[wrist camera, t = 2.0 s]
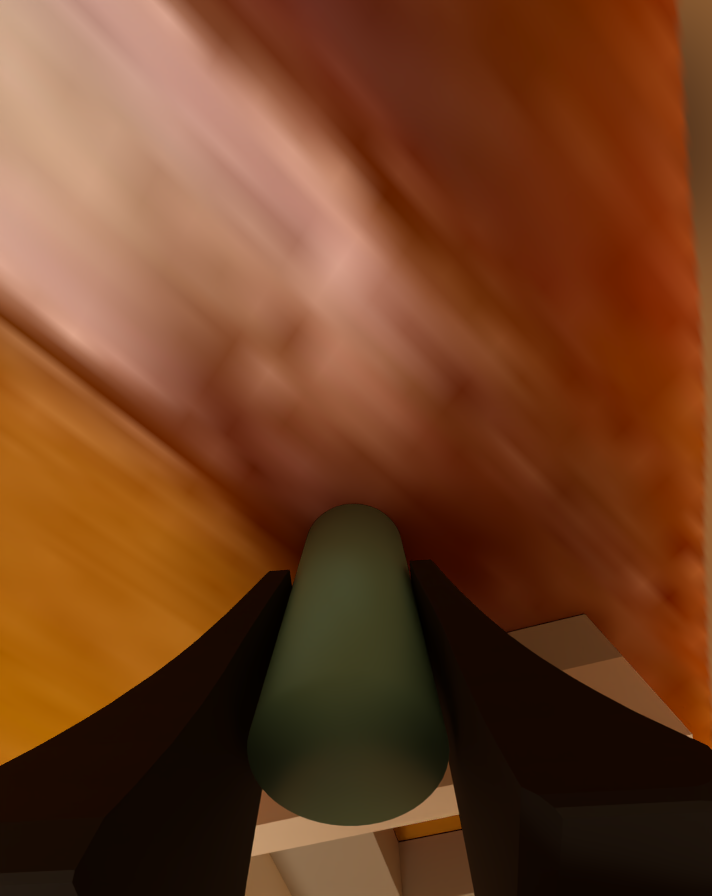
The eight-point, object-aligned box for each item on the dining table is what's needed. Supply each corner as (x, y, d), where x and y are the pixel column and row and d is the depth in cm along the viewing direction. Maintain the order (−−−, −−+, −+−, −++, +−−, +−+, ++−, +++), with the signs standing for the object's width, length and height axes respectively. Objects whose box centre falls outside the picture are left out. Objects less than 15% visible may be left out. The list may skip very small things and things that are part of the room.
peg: (404, 586, 13) (451, 821, 7) (311, 593, 13) (264, 830, 7) (399, 499, 12) (447, 666, 6) (300, 507, 13) (230, 680, 6)
